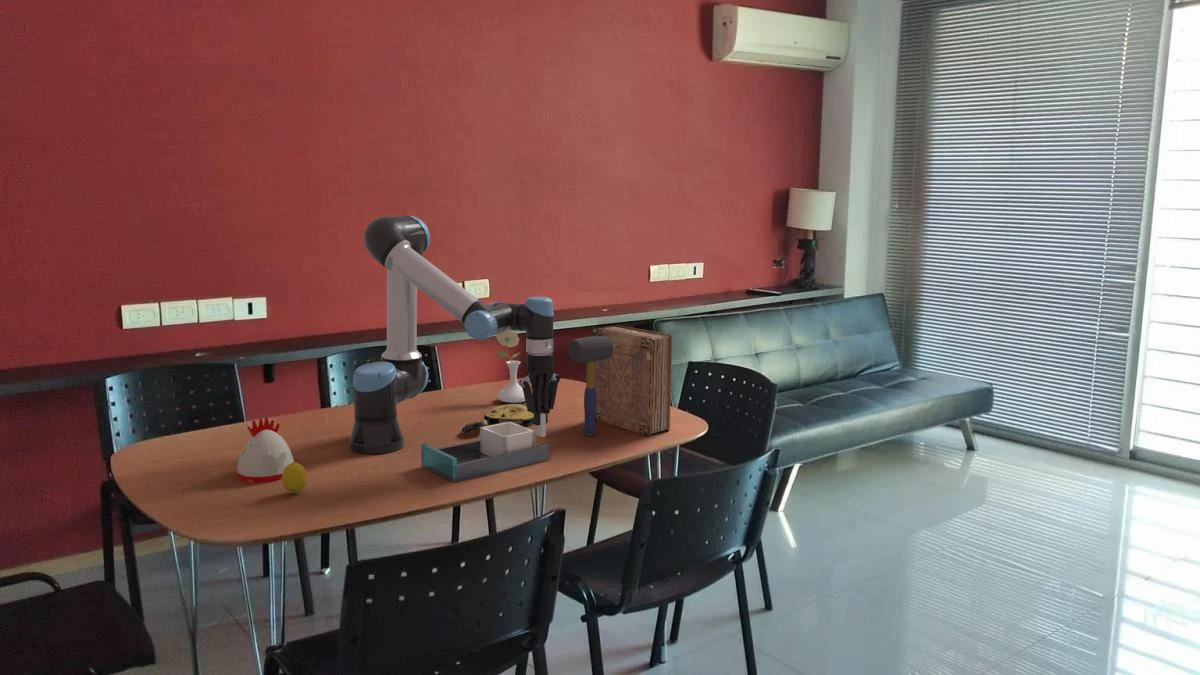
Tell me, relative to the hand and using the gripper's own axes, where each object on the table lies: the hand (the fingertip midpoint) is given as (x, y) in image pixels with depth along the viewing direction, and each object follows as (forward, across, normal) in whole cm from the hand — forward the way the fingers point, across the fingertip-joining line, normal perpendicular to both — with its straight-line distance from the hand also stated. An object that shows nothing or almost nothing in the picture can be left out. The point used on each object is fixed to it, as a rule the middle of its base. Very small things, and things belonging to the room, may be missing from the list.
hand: (540, 435), depth 253 cm
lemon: (+4, -67, +9) cm, 68 cm away
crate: (+3, -11, 0) cm, 12 cm away
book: (+5, +38, +4) cm, 38 cm away
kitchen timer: (+4, -67, +28) cm, 73 cm away
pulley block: (+5, +5, +29) cm, 30 cm away
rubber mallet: (+5, +21, +4) cm, 22 cm away
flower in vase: (+4, +26, +52) cm, 59 cm away
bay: (+5, -18, 0) cm, 19 cm away
